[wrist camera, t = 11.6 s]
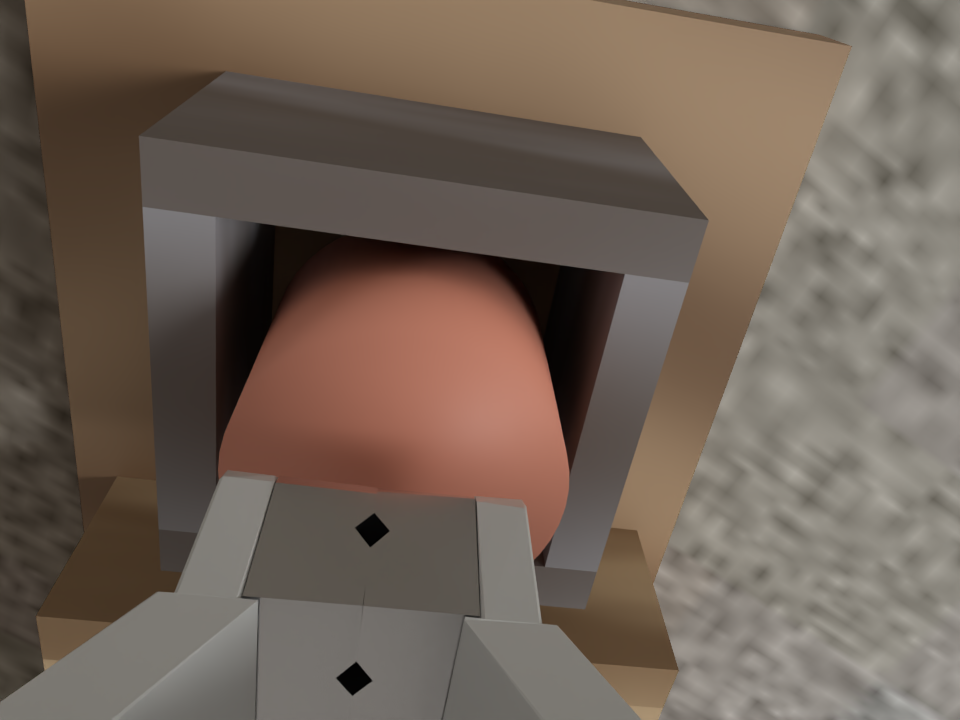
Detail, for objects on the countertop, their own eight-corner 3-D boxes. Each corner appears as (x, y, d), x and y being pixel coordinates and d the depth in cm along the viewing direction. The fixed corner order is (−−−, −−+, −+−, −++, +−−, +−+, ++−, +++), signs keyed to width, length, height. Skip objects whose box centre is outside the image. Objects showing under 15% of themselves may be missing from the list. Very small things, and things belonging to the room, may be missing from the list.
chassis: (547, 814, 24) (569, 1018, 19) (132, 787, 22) (56, 999, 18) (819, 34, 13) (1005, 100, 9) (51, -101, 12) (-184, -106, 7)
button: (514, 468, 13) (533, 625, 10) (270, 441, 13) (218, 596, 10) (566, 244, 11) (606, 360, 8) (279, 203, 11) (217, 311, 8)
